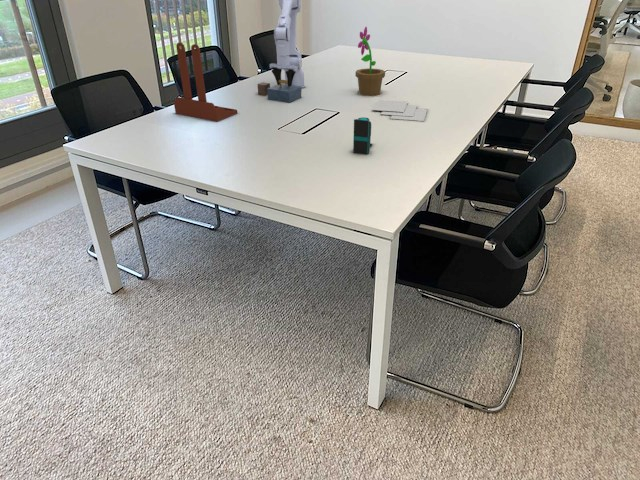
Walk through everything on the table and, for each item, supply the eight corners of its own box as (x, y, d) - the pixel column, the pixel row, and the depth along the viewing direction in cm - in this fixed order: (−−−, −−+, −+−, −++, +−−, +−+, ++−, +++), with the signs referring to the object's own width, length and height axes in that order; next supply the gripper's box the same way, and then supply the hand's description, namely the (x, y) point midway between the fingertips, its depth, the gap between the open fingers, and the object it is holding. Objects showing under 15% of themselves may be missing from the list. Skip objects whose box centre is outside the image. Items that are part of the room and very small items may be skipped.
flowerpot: (363, 88, 252) (365, 24, 236) (388, 91, 245) (392, 26, 230) (349, 94, 241) (351, 28, 226) (376, 98, 235) (379, 30, 219)
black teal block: (376, 112, 175) (369, 121, 167) (375, 144, 182) (368, 154, 174) (361, 111, 177) (353, 119, 169) (360, 143, 183) (352, 152, 175)
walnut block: (263, 92, 247) (262, 82, 244) (270, 93, 245) (269, 83, 243) (258, 94, 244) (257, 84, 241) (265, 95, 242) (264, 85, 239)
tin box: (280, 94, 244) (279, 85, 241) (301, 97, 238) (301, 87, 236) (267, 99, 236) (267, 89, 234) (289, 102, 231) (289, 93, 228)
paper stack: (429, 104, 225) (429, 102, 225) (423, 121, 204) (423, 119, 204) (378, 101, 231) (378, 99, 230) (368, 117, 210) (368, 115, 210)
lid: (280, 84, 242) (279, 76, 240) (301, 87, 236) (301, 79, 234) (267, 89, 234) (266, 81, 232) (289, 92, 228) (288, 84, 226)
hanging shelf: (237, 113, 217) (230, 41, 202) (217, 121, 208) (208, 46, 192) (196, 105, 228) (186, 36, 212) (175, 113, 218) (163, 41, 203)
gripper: (265, 55, 227) (267, 85, 234) (291, 58, 221) (292, 89, 228) (273, 52, 233) (275, 82, 240) (299, 55, 226) (300, 85, 233)
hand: (284, 85), depth 234 cm, fingers closed on lid, 5 cm apart
